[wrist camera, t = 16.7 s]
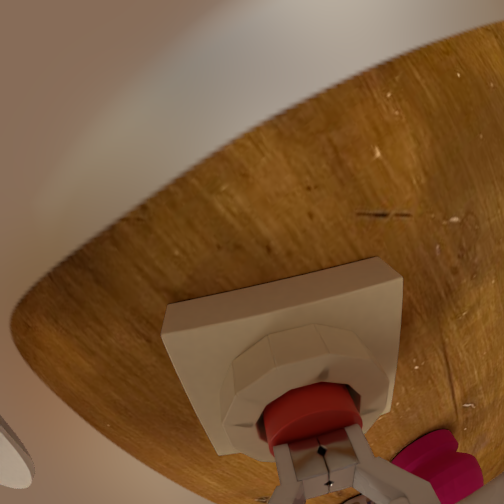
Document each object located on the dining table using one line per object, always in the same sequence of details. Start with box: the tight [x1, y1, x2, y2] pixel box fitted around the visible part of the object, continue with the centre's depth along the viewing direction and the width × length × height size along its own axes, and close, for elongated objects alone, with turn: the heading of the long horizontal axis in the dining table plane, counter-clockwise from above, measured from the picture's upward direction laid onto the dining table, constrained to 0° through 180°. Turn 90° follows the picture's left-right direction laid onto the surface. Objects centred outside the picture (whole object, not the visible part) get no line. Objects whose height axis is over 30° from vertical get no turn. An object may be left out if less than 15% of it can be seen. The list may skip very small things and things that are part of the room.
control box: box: [160, 257, 403, 462], centre depth 12 cm, size 9×8×4 cm
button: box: [262, 381, 363, 458], centre depth 10 cm, size 3×3×2 cm
